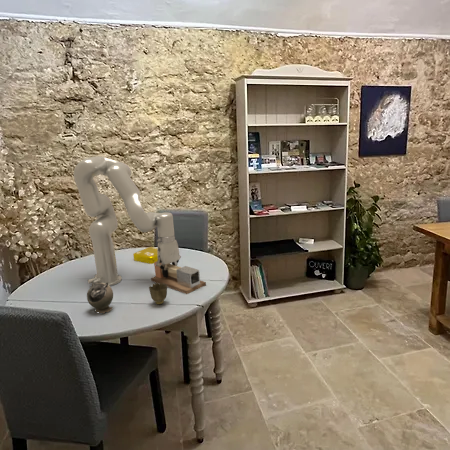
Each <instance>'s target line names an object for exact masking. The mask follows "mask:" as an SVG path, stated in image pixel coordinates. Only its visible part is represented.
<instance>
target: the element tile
mask: <svg viewBox="0 0 450 450" xmlns="http://www.w3.org/2000/svg"><path fill="white" fill-rule="evenodd" d="M157 250H158V247H154V246H148V247H146V248H144V249H141V250H139V251H136V252H133V255H132V256H133V261H134V262H139V263H144V264H147V265H148V264H149V265H152V264H154V262H157V261H158V254H157Z"/></svg>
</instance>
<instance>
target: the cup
mask: <svg viewBox="0 0 450 450" xmlns="http://www.w3.org/2000/svg"><path fill="white" fill-rule="evenodd" d="M148 289H149V294H150V297H151V298H150V299H152V300H153V302H154V303H155V305H157V306H161V305H163V304H164V303H165V300H166V299H167V295H168V287H167V284H165V283H162V284H161V283H160V284H158V283H152V286H151V285H149V287H148Z"/></svg>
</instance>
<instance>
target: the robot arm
mask: <svg viewBox="0 0 450 450" xmlns="http://www.w3.org/2000/svg"><path fill="white" fill-rule="evenodd" d="M99 175H102V176H106V177H107V178H108V180H109V182H110V183H111V185H112V187H114V189H115V190H116V192H117V193H118V194H119V196H120V198H121V199H122V200H123V204H124V206H125V209H126V213H127V215H128V216H129V218H130V220H131V222H132V223H133V224H134V225H135V227H136V229H137V230H139V231H140V232H142V233H145V234H146V233H150V232H151V231H152V230H153V229H155V228H157V237H158V238H157V239H156V242H157V248H158V250H157V254H158V261H157V263H156V266H158V267H160V268H161V269H162V273H163V277H166V278H168V270H166V269H167V264H172V265H175V266H178V263H179V262H180V260H181V258H182V256H181V255H180V251H179V250H180V249H179V248H180V247H179V244H178V241H177V239H175V238H176V237H175V229H174V228H175V226H174V217H173V216H174V215H173V213H171V212H168V211H167V212H155V211H153V212H152V211H149V212H146V211H145V210H144V208H143V206H142V202H141V193H140V189H139V188H138V186H137V185H136V184H135V182H134V180H132V179H133V178H131V176H132V169H131V167H130V166H129V165H128V164H126V163H125V162H122V161H120V160H119V161H118V160H114V159H111V158H108V157H104V156H98V155H96V156H91V157H86V158H83V159H82V160H80V161H79V162H78V163H77V164H76V165H75V167H74V169H73V178H74V183H75V185H76V188H77V190H78V194H79V197H80V200H81V203H82V206H83V209H84V212H85V214H86V215H87V217H90V218H96V219H95V220H93V221H92V222H91V224H90V225H89V228H88V235H89V237H90V240H91V243H92V248H93V249H92V250H93V255H94V256H93V257H94V263H95V271H96V274H95V275H94V277H93V278H89V279H87V282H88V284H90V285H91V284H92V282H93V283H95V284H97V283H105V284H106V283H108V285H109V286H110V287H111V286H115V285H118V284H119V283H120V282H121V281H122V278H123V277H122V276H121V275H119V274H118V268H117V267H118V265H117V259H116V251H115V244H114V242H113V241H114V240H113V238H112V234H113V233H114V232H115V231H116V230H117V229H118V226H119V223H118V218H117V216H116V212H115V208H114V206H113V203H112V201H111V199H110V197H109V196H108V195H106V194H104V193H100V191H99V188H98V185H97V183H96V181H95V180H94V177H97V176H99ZM160 263H161V265H160Z"/></svg>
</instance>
